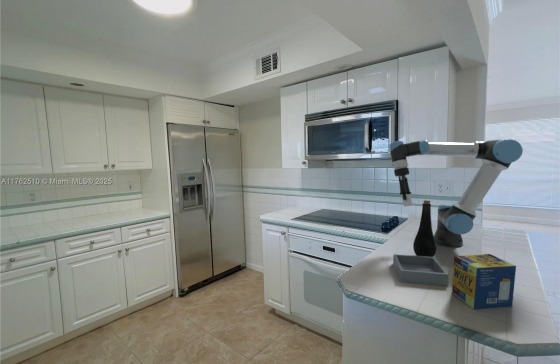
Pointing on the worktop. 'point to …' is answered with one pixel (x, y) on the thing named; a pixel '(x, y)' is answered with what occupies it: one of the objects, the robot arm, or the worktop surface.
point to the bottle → (425, 234)
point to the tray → (420, 270)
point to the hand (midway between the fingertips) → (408, 206)
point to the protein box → (483, 281)
